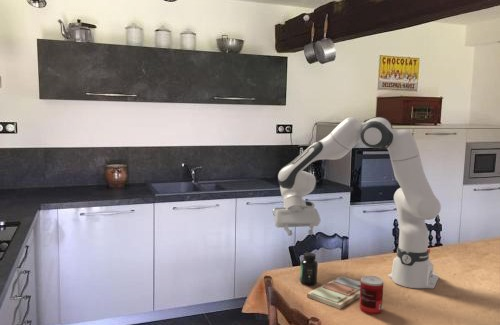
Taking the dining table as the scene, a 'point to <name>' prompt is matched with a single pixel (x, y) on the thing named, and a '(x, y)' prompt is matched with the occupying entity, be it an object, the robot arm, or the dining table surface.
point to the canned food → (371, 294)
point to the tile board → (337, 292)
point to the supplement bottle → (309, 270)
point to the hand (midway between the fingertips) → (300, 234)
